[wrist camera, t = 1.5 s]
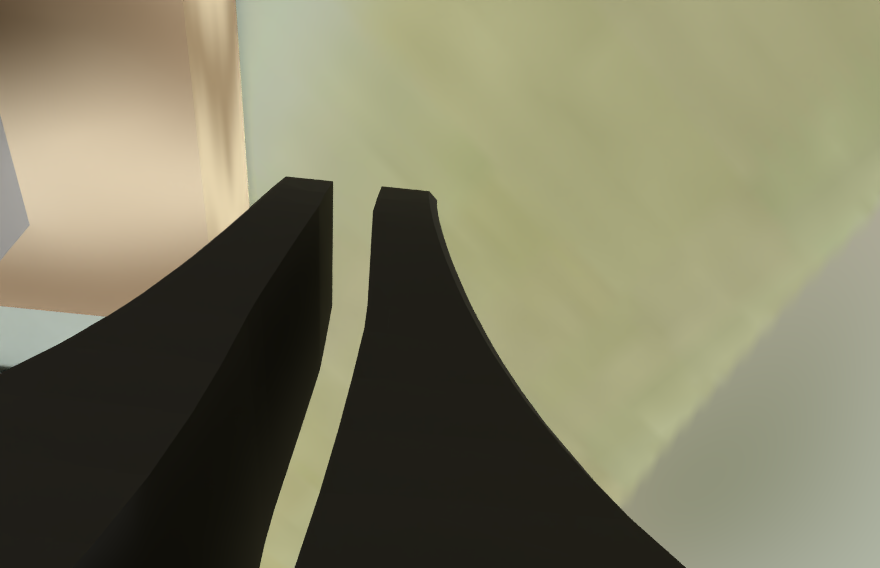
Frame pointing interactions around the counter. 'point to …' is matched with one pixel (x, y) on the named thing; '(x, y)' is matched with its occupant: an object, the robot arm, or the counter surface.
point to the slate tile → (9, 200)
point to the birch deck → (118, 144)
